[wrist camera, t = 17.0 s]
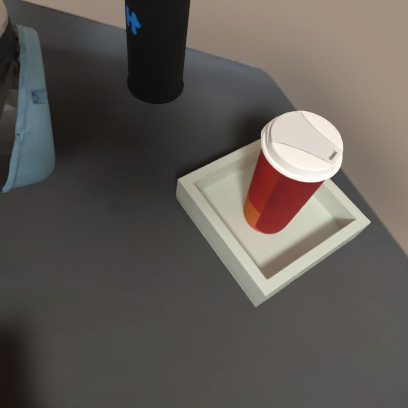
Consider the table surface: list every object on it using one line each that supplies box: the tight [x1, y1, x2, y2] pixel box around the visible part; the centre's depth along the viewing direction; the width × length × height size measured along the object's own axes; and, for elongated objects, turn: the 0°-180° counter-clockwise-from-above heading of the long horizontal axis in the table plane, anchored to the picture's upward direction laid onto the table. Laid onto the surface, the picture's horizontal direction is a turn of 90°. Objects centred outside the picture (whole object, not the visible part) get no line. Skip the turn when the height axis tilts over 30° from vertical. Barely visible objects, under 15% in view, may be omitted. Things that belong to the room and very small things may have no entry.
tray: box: [176, 139, 371, 307], centre depth 45 cm, size 16×16×4 cm
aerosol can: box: [125, 0, 190, 104], centre depth 48 cm, size 8×8×20 cm
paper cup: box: [244, 111, 343, 234], centre depth 40 cm, size 8×8×14 cm
